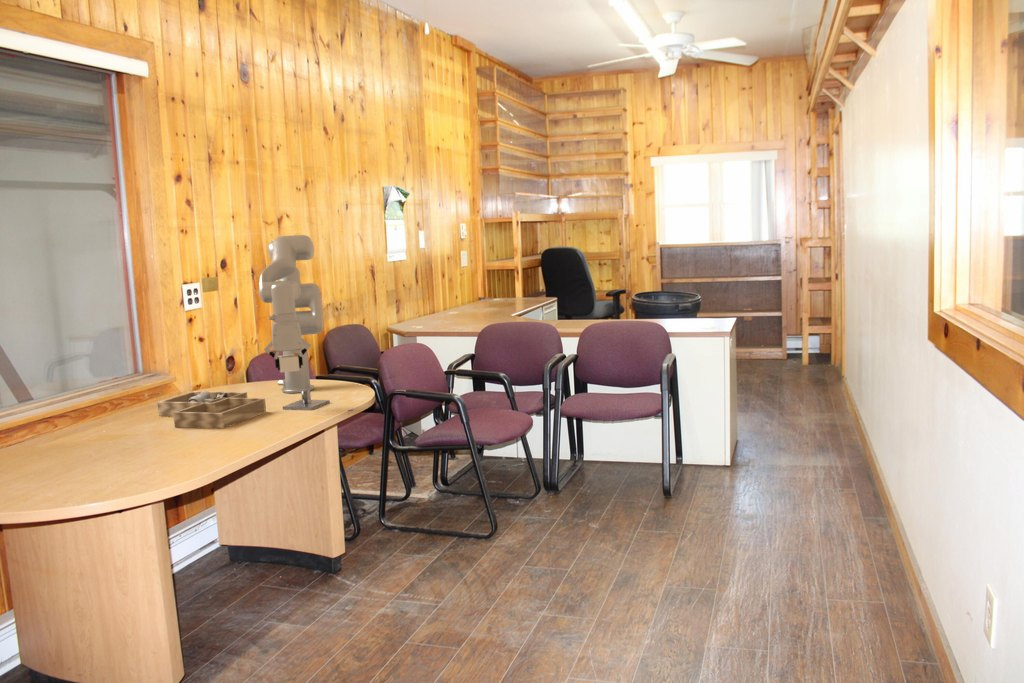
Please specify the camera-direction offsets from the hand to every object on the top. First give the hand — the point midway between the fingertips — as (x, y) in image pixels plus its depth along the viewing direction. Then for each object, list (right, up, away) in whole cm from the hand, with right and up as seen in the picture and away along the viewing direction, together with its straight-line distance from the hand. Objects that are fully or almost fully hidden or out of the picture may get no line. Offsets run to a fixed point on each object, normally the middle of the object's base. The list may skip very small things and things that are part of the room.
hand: (289, 368), depth 293 cm
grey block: (0, -1, 0) cm, 1 cm away
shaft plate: (+4, -14, +8) cm, 17 cm away
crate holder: (-34, -16, +9) cm, 38 cm away
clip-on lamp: (-34, -16, +9) cm, 38 cm away
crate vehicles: (-21, -17, -8) cm, 28 cm away
